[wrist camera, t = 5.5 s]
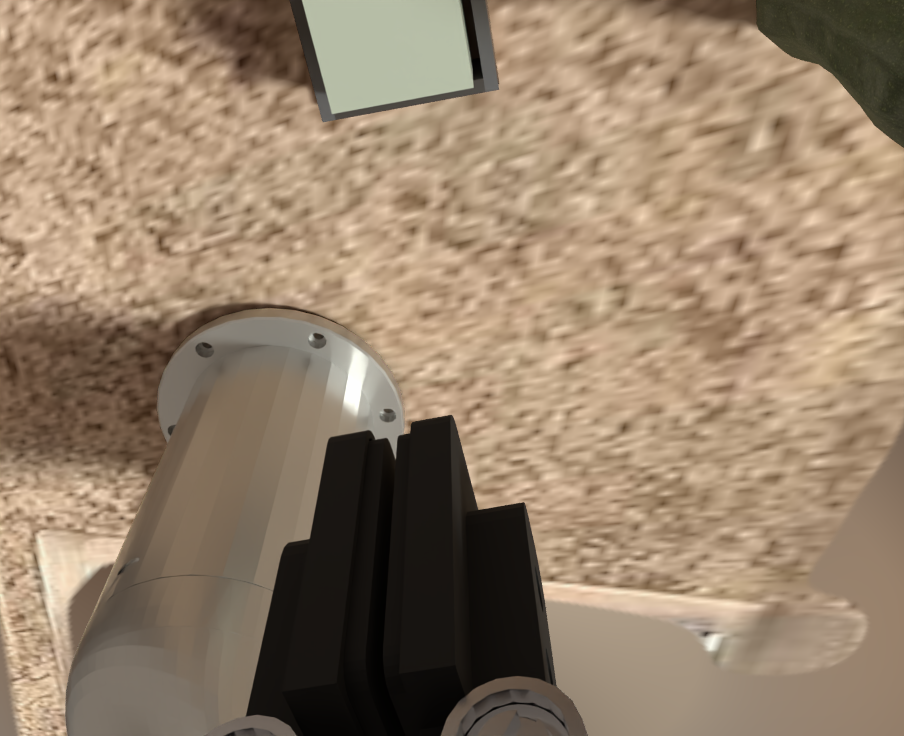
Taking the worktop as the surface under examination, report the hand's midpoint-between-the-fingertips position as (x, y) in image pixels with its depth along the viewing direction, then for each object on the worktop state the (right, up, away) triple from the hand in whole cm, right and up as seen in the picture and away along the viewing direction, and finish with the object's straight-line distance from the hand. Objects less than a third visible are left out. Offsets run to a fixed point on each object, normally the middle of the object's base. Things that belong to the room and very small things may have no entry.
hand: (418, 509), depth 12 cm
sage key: (-2, +15, +20) cm, 25 cm away
